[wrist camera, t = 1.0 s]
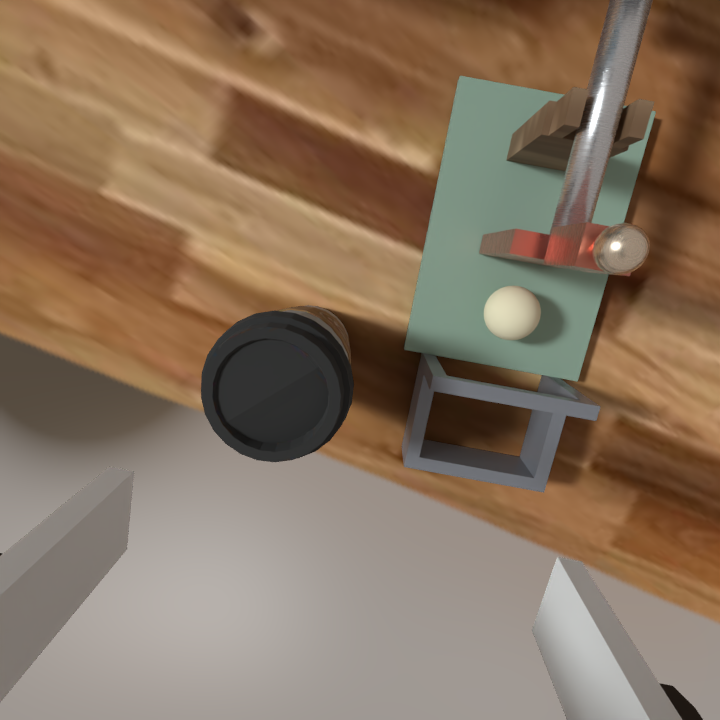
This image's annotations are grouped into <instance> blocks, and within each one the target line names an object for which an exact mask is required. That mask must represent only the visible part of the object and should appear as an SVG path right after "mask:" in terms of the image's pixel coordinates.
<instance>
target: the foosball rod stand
mask: <svg viewBox="0 0 720 720" xmlns="http://www.w3.org/2000/svg"><path fill="white" fill-rule="evenodd" d="M652 1H653V0H610V2H609V6H608V10H607V14H606V18H605V21H604V25H603V29H602V33H601V37H600V41H599V45H598V49H597V52H596V56H595V60H594V64H593V68H592V72H591V76H590V80H589V83H588V87H587V90H589V92H588V96H587V100H586V104H585V107H584V111H583V115H582V119H581V123H580V127H579V128H577V130H576V134H575V138H574V141H573V145H572V149H571V153H570V157H569V161H568V165H567V169H566V172H565V176H564V180H563V184H562V188H561V192H560V196H559V200H558V203H557V207H556V211H555V215H554V219H553V223H552V227H551V230H550V234H543V233H538V232H532V231H527V230H521V229H516V228H515V229H510V230H505V231H500V232H494V233H489V234H484V235H483V237H482V242H481V246H480V250H479V254H484V255H489V256H495V257H500V258H505V259H511V260H516V261H522V262H527V263H533V264H538V265H544V266H549V267H555V268H564V269H572V270H577V271H583V272H588V273H598V274H610V275H621V276H630V274H631V272H632V271H634V270H636V269H637V268H639V267H640V266H641V265H642V264H643V263H644V261H645V260H646V258H647V256H648V254H649V250H650V243H649V239H648V236H647V235H646V233H645V232H644V231H643V230H642V229H641V228H640V227H638V226H636V225H633V224H629V223H620V224H615V225H612V226H605V225H600V224H594V223H592V219H593V215H594V212H595V208H596V205H597V201H598V197H599V194H600V190H601V186H602V183H603V179H604V176H605V172H606V168H607V165H608V161H609V157H610V154H611V150H612V147H613V143H614V139H615V136H616V132H617V128H618V125H619V121H620V118H621V114H622V110H623V107H624V103H625V99H626V96H627V92H628V89H629V85H630V81H631V78H632V74H633V70H634V67H635V63H636V59H637V56H638V52H639V49H640V45H641V41H642V38H643V34H644V30H645V27H646V23H647V20H648V16H649V12H650V9H651V5H652Z"/></svg>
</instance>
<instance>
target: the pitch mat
mask: <svg viewBox="0 0 720 720" xmlns="http://www.w3.org/2000/svg"><path fill="white" fill-rule="evenodd" d="M563 96H564V95H563V94H557V93H552V92H546V91H541V90H535V89H530V88H524V87H519V86H514V85H508V84H503V83H497V82H492V81H486V80H481V79H475V78H470V77H464V76H460V78H459V80H458V83H457V88H456V93H455V98H454V103H453V108H452V113H451V118H450V123H449V128H448V133H447V138H446V142H445V147H444V152H443V157H442V162H441V167H440V172H439V177H438V182H437V187H436V192H435V197H434V202H433V207H432V211H431V216H430V221H429V226H428V231H427V236H426V241H425V246H424V251H423V256H422V261H421V266H420V271H419V275H418V280H417V285H416V290H415V295H414V300H413V305H412V310H411V315H410V320H409V325H408V330H407V335H406V340H405V344H404V350H409V351H414V352H420V353H425V354H430V355H436V356H441V357H447V358H452V359H458V360H463V361H469V362H474V363H480V364H485V365H490V366H496V367H501V368H507V369H512V370H518V371H523V372H529V373H534V374H540V375H545V376H550V377H556V378H561V379H567V380H572V381H578V378H579V375H580V371H581V368H582V365H583V361H584V358H585V354H586V351H587V347H588V344H589V340H590V337H591V334H592V330H593V327H594V323H595V320H596V316H597V313H598V309H599V306H600V303H601V299H602V296H603V292H604V289H605V285H606V282H607V278H608V275H609V274H598V273H588V272H583V271H577V270H572V269H564V268H555V267H549V266H544V265H538V264H533V263H527V262H522V261H516V260H511V259H505V258H500V257H495V256H489V255H484V254H479V250H480V246H481V242H482V237H483V235H484V234H489V233H494V232H500V231H505V230H510V229H515V228H516V229H521V230H527V231H532V232H538V233H543V234H550V230H551V227H552V223H553V219H554V215H555V211H556V207H557V203H558V200H559V196H560V192H561V188H562V184H563V180H564V176H565V172H566V171H561V170H556V169H550V168H545V167H539V166H534V165H528V164H523V163H518V162H512V161H507V160H506V159H507V155H508V151H509V146H510V142H511V138H512V134H513V133H514V132H515V131H516V130H517V129H519V128H520V127H521V126H522V125H523V124H524V123H525V122H526V121H527V120H528V119H530V118H531V117H532V116H533V115H534V114H535V113H536V112H537V111H538V110H540V109H541V108H542V107H543V106H544V105H545V104H546V103H547V102H548V101H550V100H551V101H556V102H557V101H558V100H559V99H560V98H561V97H563ZM625 107H626V106H624V107H623V108H625ZM655 113H656V112H655V111H652V112H651V115H650V119H649V122H648V126H647V129H646V133H645V136H644V139H643V140H640V141H638V142H636V143H634V144H631V145H629V148H628V150H627V151H625V152H623V153H620V154H618V155H615V156H613V157H611V158H609V161H608V165H607V168H606V172H605V176H604V179H603V183H602V186H601V190H600V194H599V197H598V201H597V205H596V208H595V212H594V215H593V219H592V223H594V224H600V225H605V226H612V225H615V224H620V223H624V220H625V216H626V213H627V210H628V206H629V203H630V199H631V196H632V192H633V189H634V185H635V182H636V179H637V175H638V172H639V168H640V165H641V161H642V158H643V154H644V151H645V148H646V144H647V141H648V137H649V134H650V130H651V127H652V123H653V120H654V117H655ZM506 286H520V287H523V288H526V289H528V290H529V291H531V292H532V293H533V294H534V295H535V297H536V298H537V299H538V301H539V304H540V308H541V316H540V320H539V323H538V325H537V327H536V328H535V329H534V331H533V332H532V333H530V334H529V335H528V336H526V337H524V338H522V339H518V340H504V339H501V338H499V337H497V336H495V335H494V334H493V333H492V332H491V331H490V330H489V329H488V327H487V326H486V323H485V320H484V307H485V304H486V302H487V300H488V298H489V297H490V296H491V295H492V294H493V293H494V292H495V291H497V290H498V289H500V288H503V287H506Z"/></svg>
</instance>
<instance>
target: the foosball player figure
mask: <svg viewBox="0 0 720 720" xmlns="http://www.w3.org/2000/svg"><path fill="white" fill-rule="evenodd" d="M588 92H589V90H587V89H582V88H577V87H573V88H572V89H571V90H570V91H568V92H567V93H566V94H565V95H564V96H563V97H561V98H560V99H559V100H558V101H557V102H556V101H551V100H550V101H548V102H547V103H546V104H545V105H544V106H543V107H542V108H541V109H540V110H538V111H537V112H536V113H535V114H534V115H533V116H532V117H531V118H530V119H528V120H527V121H526V122H525V123H524V124H523V125H522V126H521V127H520V128H519V129H517V130H516V131H515V132H514V133H513V134H512V138H511V142H510V146H509V151H508V155H507V159H506V160H507V161H512V162H518V163H523V164H528V165H534V166H539V167H545V168H550V169H556V170H561V171H566V169H567V165H568V161H569V157H570V153H571V149H572V145H573V141H574V138H575V134H576V130H577V128H579V127H580V123H581V119H582V115H583V111H584V107H585V104H586V100H587V96H588ZM653 105H654V102H653V101H647V100H642V99H638V100H636V101H635V102H633V103H631V104H630V105H628V106H626V107H625V108H623V110H622V114H621V118H620V121H619V125H618V128H617V132H616V136H615V139H614V143H613V147H612V150H611V154H610V157H609V158H611V157H613V156H615V155H618V154H620V153H623V152H625V151H627V150H628V148H629V145H631V144H634V143H636V142H638V141H640V140H643V139H644V136H645V133H646V129H647V126H648V122H649V119H650V115H651V112H652V108H653Z"/></svg>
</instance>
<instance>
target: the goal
mask: <svg viewBox="0 0 720 720" xmlns="http://www.w3.org/2000/svg"><path fill="white" fill-rule="evenodd" d="M434 391H435V392H441V393H446V394H452V395H457V396H462V397H468V398H473V399H479V400H484V401H490V402H495V403H501V404H506V405H512V406H517V407H523V408H528V409H533V410H532V413H531V417H530V421H529V424H528V428H527V432H526V435H525V439H524V443H523V446H522V450H521V454H520V457H518V456H512V455H507V454H501V453H496V452H490V451H485V450H479V449H474V448H468V447H463V446H458V445H452V444H447V443H441V442H436V441H430V440H425V439H424V434H425V430H426V425H427V421H428V416H429V412H430V407H431V403H432V398H433V394H434ZM599 410H600V406H599V405H597V404H596V403H595V402H593V401H592V400H590V399H589V398H587V397H586V396H584V395H583V394H581V393H580V392H579V391H577V390H576V389H574V388H573V387H571V386H570V385H568V384H567V383H566V382H564V381H563V380H561V379H560V378H556V377H550V376H545V375H542V376H541V380H540V384H539V387H538V391H537V392H533V391H528V390H522V389H517V388H511V387H506V386H501V385H495V384H490V383H484V382H479V381H473V380H468V379H462V378H457V377H451V376H447V375H446V374H445V372H444V370H443V368H442V366H441V365H440V363H439V361H438V359H437V357H436V356H435V355H430V354H425V353H421V358H420V362H419V367H418V372H417V377H416V381H415V386H414V391H413V395H412V400H411V405H410V410H409V414H408V419H407V424H406V428H405V433H404V438H403V443H402V454H403V462H404V467H408V468H413V469H419V470H424V471H430V472H435V473H441V474H446V475H452V476H457V477H462V478H468V479H473V480H479V481H484V482H490V483H495V484H501V485H506V486H512V487H517V488H523V489H528V490H533V491H539V492H544V490H545V487H546V484H547V480H548V477H549V473H550V470H551V466H552V463H553V459H554V456H555V452H556V449H557V446H558V442H559V439H560V435H561V432H562V428H563V425H564V421H565V418H566V416H572V417H577V418H583V419H588V420H593V421H596V420H597V416H598V413H599Z"/></svg>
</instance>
